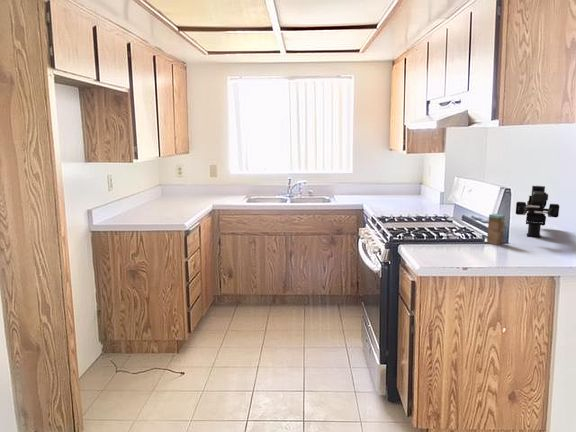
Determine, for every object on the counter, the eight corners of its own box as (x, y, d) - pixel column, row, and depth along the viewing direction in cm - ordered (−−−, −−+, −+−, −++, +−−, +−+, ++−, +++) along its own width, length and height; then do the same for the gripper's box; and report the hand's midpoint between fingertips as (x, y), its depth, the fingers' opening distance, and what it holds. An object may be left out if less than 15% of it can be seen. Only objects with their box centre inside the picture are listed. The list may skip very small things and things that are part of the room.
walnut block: (493, 241, 247) (495, 213, 245) (502, 243, 243) (504, 215, 240) (487, 242, 244) (489, 214, 242) (496, 244, 240) (498, 216, 238)
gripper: (517, 189, 252) (517, 194, 238) (559, 192, 244) (561, 196, 230) (515, 211, 254) (515, 216, 240) (557, 214, 246) (559, 220, 232)
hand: (537, 212), depth 235 cm, fingers open, 9 cm apart
